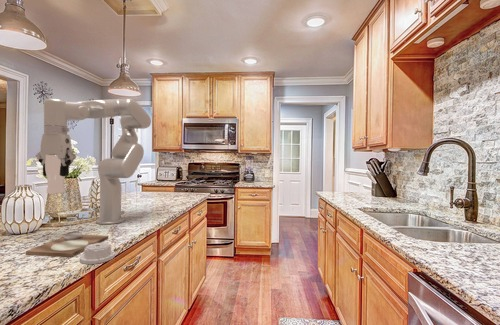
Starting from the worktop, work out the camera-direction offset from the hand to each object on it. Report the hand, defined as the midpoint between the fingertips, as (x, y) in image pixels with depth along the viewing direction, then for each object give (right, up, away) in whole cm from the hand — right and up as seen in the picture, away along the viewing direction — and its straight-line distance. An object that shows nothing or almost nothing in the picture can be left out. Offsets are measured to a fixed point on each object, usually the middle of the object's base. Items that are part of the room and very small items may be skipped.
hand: (56, 175), depth 107 cm
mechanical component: (+28, -27, -19) cm, 43 cm away
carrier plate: (+12, -25, -9) cm, 29 cm away
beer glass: (0, -7, 0) cm, 7 cm away
